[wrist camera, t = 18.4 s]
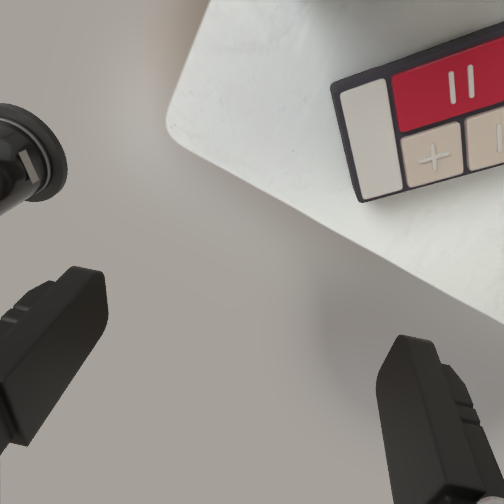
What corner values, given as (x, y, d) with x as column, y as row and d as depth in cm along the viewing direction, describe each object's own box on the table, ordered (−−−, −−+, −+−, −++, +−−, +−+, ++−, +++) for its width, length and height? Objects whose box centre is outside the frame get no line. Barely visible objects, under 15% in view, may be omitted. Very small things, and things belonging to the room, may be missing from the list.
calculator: (537, 159, 31) (359, 208, 35) (512, 145, 35) (353, 190, 39) (542, 15, 26) (333, 90, 30) (511, 17, 30) (328, 83, 33)
